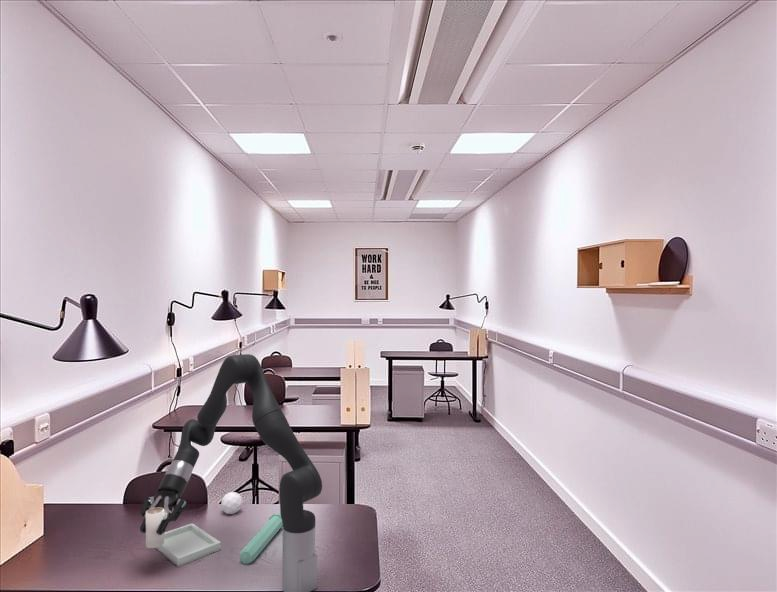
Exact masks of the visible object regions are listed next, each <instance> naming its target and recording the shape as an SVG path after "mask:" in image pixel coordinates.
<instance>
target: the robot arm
mask: <svg viewBox="0 0 777 592" xmlns="http://www.w3.org/2000/svg"><path fill="white" fill-rule="evenodd" d="M238 384H239V385H240V384H247V386H248V388H249V389H250V391H251V394H252V397H253V404H252V413H251V418H252V420H251V421H252V423H253V427H255V430H256V431H257V434H258V436H259V438H260V440H261V441H262V442H263V443H264V444H265V445H266V446H268V447H269V448H270V449H272V450H273V452H276V453H277V454H278V455H280V456H281V457H282V458H283V459H284V460H286V462H287V464H289V467H291V469H292V470H291V471H288V472H286V473H284V474H283V475H282V477H281V479H280V482H279V493H278V494H279V508H280V509H279V511H280V513H279V514H281V518H282V522H283V527H282V561H281V563H282V567H281V568H282V569H281V571H282V572H281V573H282V574H281V577H282V579H281V581H282V585H281V587H282V588H281V589H282V591H283V592H312V591H314V590H316V589H317V588H318V555H317V553H316V516H315V513H313V512H312V511H310V510H306V509H304V503H305V502H308V501H311V500H312V499H315V498H316V497H318V496H320V495H321V494H322V493H321V492H322V491H323V481H322V478H321V475H320V472H319V470H317V467H316V466H315V465H314V463H313V462H312V460H311V459H310V457H309V456H308V454H307V452H306V451H305V450H304V448H303V446H302V445H301V443H300V442H299V440H298V438H297V436H296V434H295V433H294V431H293V429H292V428H291V426H290V423H289V421H288V419H287V418H286V416H285V414H284V412H283V409H281V407H280V404H279V403H278V401H277V399H276V398H275V395H274V393H273V392H272V389H271V387H270V385H269V382H268V380H267V377H266V375H265V373H264V370H263V368H262V365H261V363H260V361H259V360H258V358H257V357H256V356H255V355H253V354H250V353H249V354H245V353H243V354H233V355H229V356H227V357H226V358H225V359H224V360H223V362H222V364H221V365H220V368H219V370H218V373H217V375H216V378H215V380H214V383H213V386H212V387H211V391H210V393H209V395H208V397H207V399H206V401H205V402H204V403H203V405H202V407H201V408H200V410H199V411H198V414H197V417H196V418H197V419H193V418H191V419H189V420H187V421H186V422H185V423H184V425H183V426H182V427H183V428H182V431H181V436H180V443H179V446H178V449H177V451H176V452H175V456H174V458H173V459H172V461H171V464H170V465H169V466H168V468H167V470H166V472H165V475H164V476H163V478H162V480H161V482H160V484H159V485H158V490H157V492H156V493H155V494H154V496H149V495H146V496H145V497H144V501H143V503H142V506H141V511H140V515H141V516H142V517H143V518H144V519H143V520H142V523H141V524H140V527H139V531H140V532H141V533H142V534H146V511H147V510H149V509H151V508H156V507H162V508H164V517H163V520H162V521H161V523H160V525H159V527H158V529H157V531H156V533H157V534H158V535H162V533H165V532H166V529H167V527H168V525H169V523H171V522H176V521H177V520H178V518H179V517H180V515H181V514H182V513H183V511H184V509H186V507H187V504H188V503H187V501H185V499H183V498H181V497H182V496H183V494H184V492H185V490H186V487H187V486H188V483H189V481H190V478H191V476H192V475H193V474H192V473H193V470H194V468H195V466H196V463H197V461H198V460H199V457H200V451H199V450H198V449H197V448H196V447H194V446H193V445H192V444H196V445H198V446H201V447H207V446H208V445H210V443H211V442H212V440H213V439H214V435H215V433H216V432H215V431H216V427H217V425H218V422H219V421H220V420H221V418H222V416H223V415H224V413H225V411H226V409H227V405H228V399H227V393H228V391H229V390H230V389H231V388H232V386H233V385H238ZM191 443H192V444H191Z"/></svg>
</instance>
